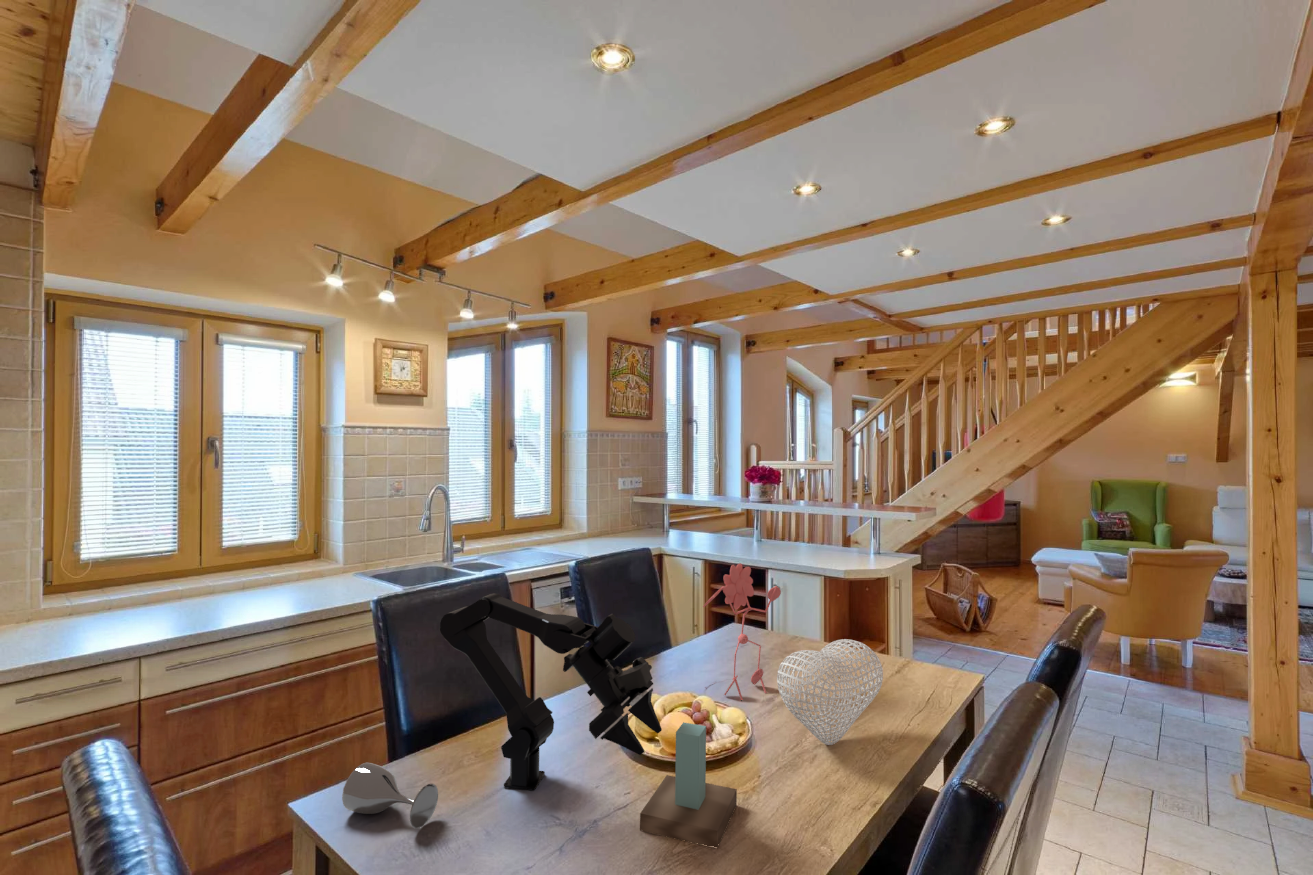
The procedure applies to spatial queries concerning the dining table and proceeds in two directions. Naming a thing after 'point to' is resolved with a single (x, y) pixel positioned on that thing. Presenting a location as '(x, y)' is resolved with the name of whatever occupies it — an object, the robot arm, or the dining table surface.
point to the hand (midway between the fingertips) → (651, 742)
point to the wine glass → (385, 794)
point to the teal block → (690, 765)
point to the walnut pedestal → (689, 814)
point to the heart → (827, 655)
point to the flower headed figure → (737, 593)
